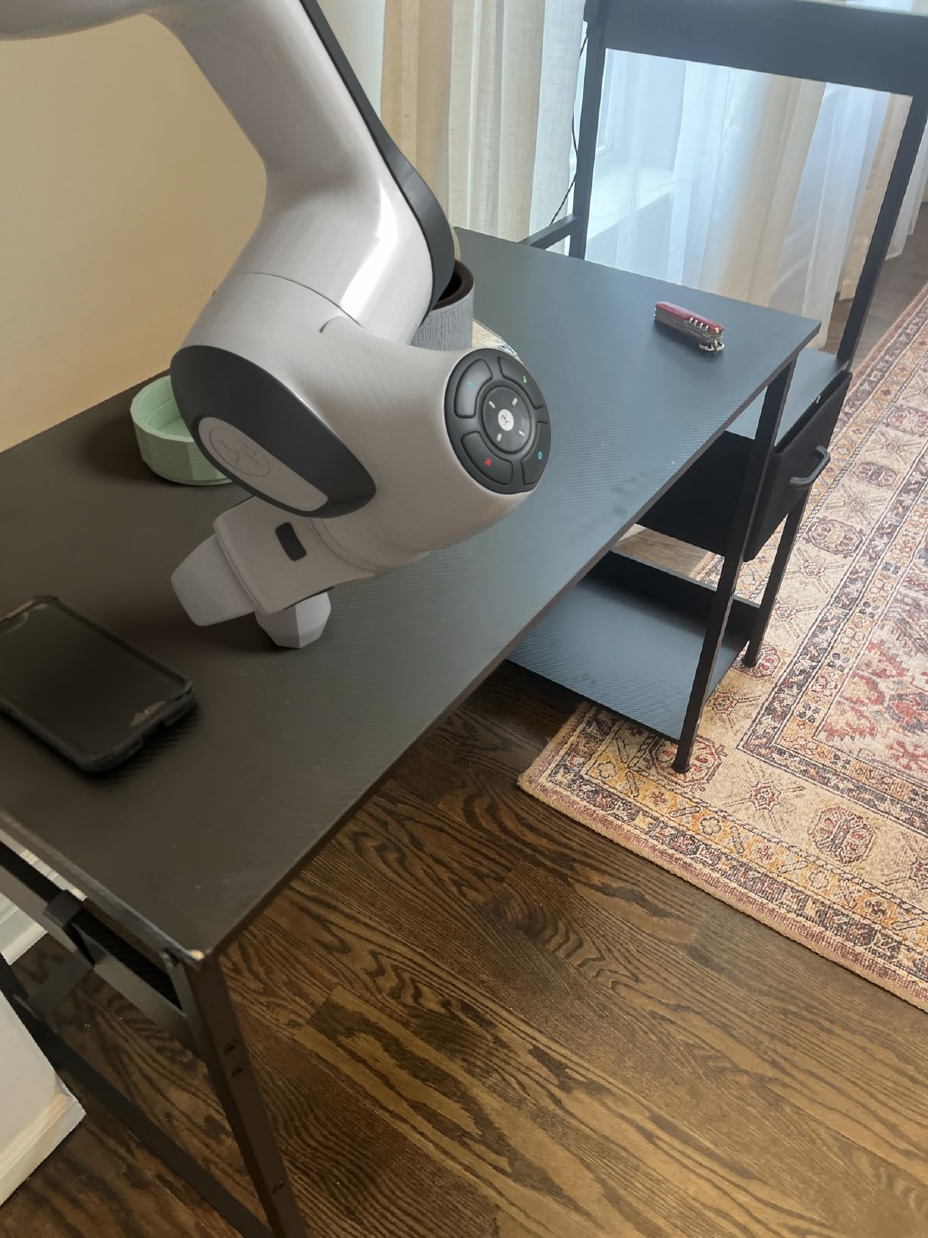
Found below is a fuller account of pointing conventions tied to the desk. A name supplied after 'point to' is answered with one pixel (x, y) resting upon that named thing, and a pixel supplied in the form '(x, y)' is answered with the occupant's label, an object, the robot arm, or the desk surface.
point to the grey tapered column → (297, 622)
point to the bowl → (169, 438)
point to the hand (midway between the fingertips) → (281, 555)
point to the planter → (450, 315)
